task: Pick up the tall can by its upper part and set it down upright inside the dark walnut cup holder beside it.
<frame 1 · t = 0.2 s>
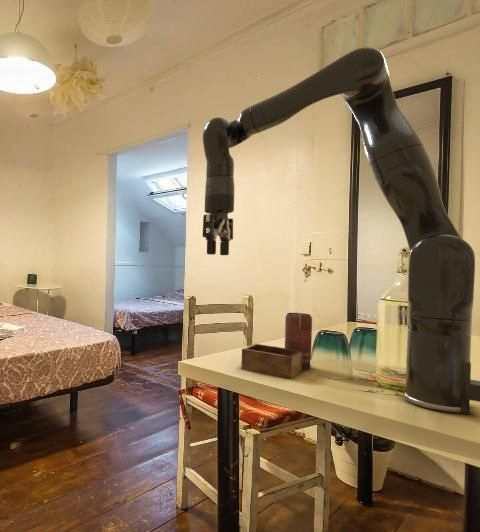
hand: (218, 254, 107), 29 cm above the table, tool pointing down, fingers open, 8 cm apart
holder: (271, 369, 100), on the table
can: (297, 367, 103), on the table
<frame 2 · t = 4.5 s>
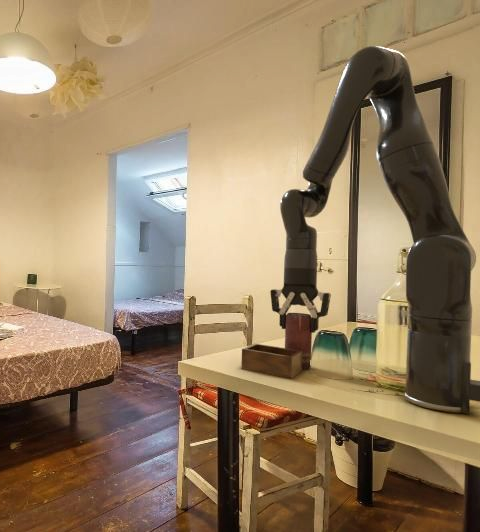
hand: (298, 330, 103), 10 cm above the table, tool pointing down, fingers closed on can, 6 cm apart
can: (297, 367, 103), on the table, touching gripper
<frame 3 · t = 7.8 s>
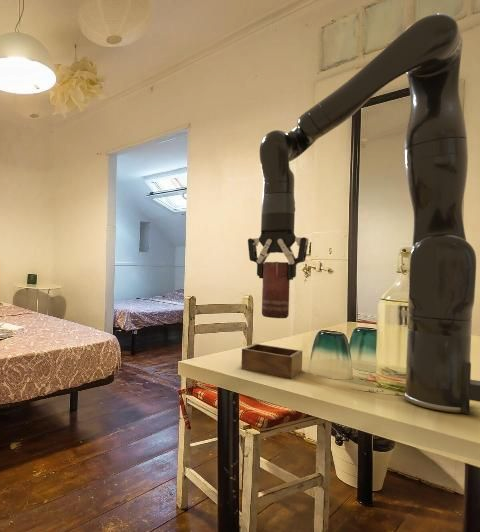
hand: (275, 278, 100), 23 cm above the table, tool pointing down, fingers closed on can, 6 cm apart
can: (275, 317, 100), point 13 cm above the table, touching gripper
when the fingers open (10 cm above the table, at t = 11.2 s): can stays where it is, resting on holder.
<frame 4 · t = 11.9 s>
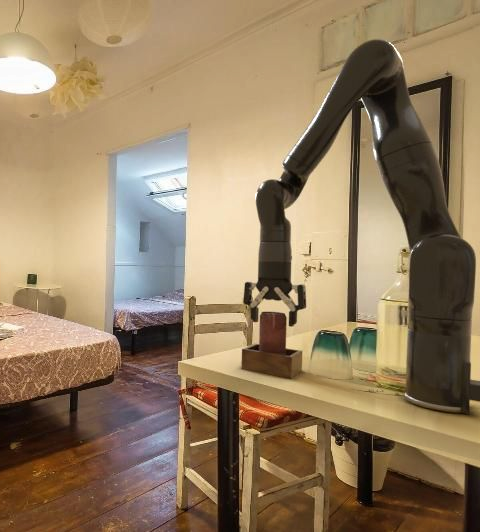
hand: (273, 324, 100), 12 cm above the table, tool pointing down, fingers open, 8 cm apart
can: (271, 368, 100), resting on holder
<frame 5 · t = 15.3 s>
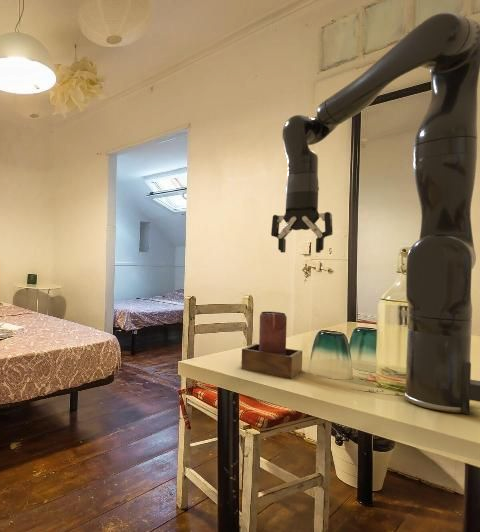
hand: (300, 252, 106), 30 cm above the table, tool pointing down, fingers open, 8 cm apart
nothing on the table moved.
at the end: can 0.1 cm off-centre in the holder, point 0.4 cm above the holder's base; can tilted 0°; the gripper is holding nothing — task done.
